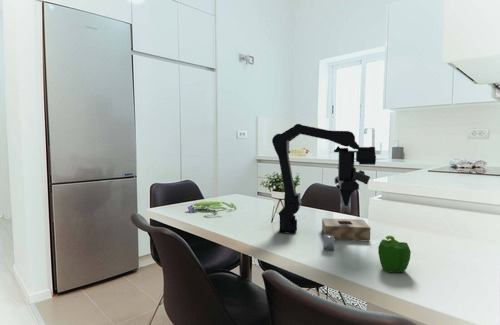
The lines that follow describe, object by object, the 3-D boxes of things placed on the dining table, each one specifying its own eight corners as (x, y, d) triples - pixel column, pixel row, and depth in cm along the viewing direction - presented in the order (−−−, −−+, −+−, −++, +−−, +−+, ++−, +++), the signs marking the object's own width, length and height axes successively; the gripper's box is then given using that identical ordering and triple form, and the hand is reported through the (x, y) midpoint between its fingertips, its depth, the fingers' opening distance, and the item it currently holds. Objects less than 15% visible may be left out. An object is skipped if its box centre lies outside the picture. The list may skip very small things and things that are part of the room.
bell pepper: (399, 263, 94) (400, 230, 93) (415, 275, 85) (416, 239, 85) (371, 264, 93) (372, 231, 93) (384, 276, 85) (385, 239, 84)
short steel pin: (323, 251, 105) (323, 237, 104) (322, 247, 108) (322, 234, 108) (334, 251, 104) (335, 238, 104) (333, 247, 108) (333, 235, 108)
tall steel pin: (341, 213, 120) (341, 192, 119) (339, 211, 123) (340, 190, 123) (351, 213, 119) (351, 192, 119) (349, 211, 123) (349, 191, 122)
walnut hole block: (325, 239, 117) (325, 226, 117) (322, 230, 129) (322, 218, 129) (370, 241, 115) (370, 227, 115) (362, 231, 127) (363, 219, 127)
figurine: (221, 218, 152) (221, 206, 152) (179, 212, 165) (179, 201, 165) (241, 210, 168) (241, 200, 168) (201, 205, 181) (201, 196, 181)
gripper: (374, 166, 110) (373, 210, 111) (362, 163, 128) (362, 201, 129) (341, 166, 111) (340, 209, 112) (334, 162, 130) (334, 200, 131)
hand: (345, 205), depth 121 cm, fingers closed on tall steel pin, 4 cm apart
